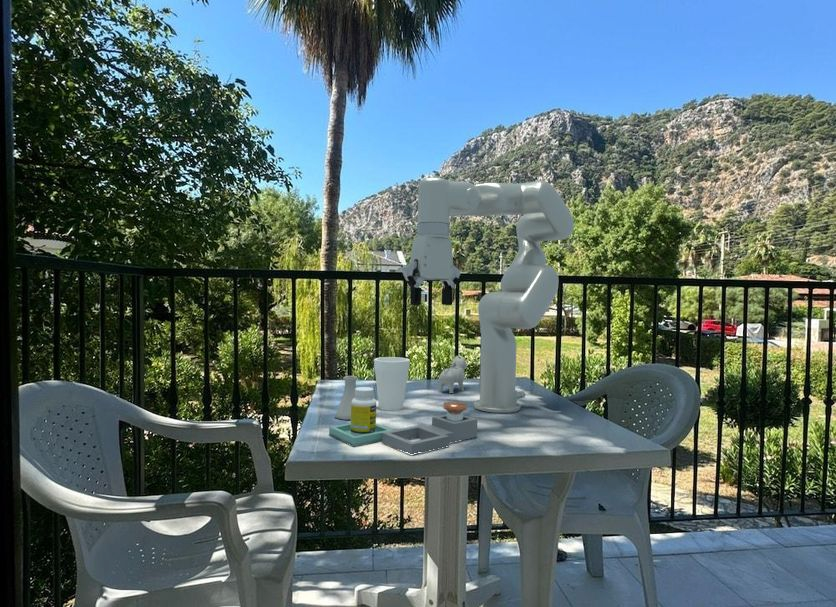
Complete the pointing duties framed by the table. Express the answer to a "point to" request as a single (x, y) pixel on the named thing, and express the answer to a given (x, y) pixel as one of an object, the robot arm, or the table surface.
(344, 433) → the tray
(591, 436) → the table surface
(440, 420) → the housing
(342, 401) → the flask
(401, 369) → the foam cup
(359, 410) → the supplement bottle
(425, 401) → the table surface
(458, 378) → the dog figurine
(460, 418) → the plunger
